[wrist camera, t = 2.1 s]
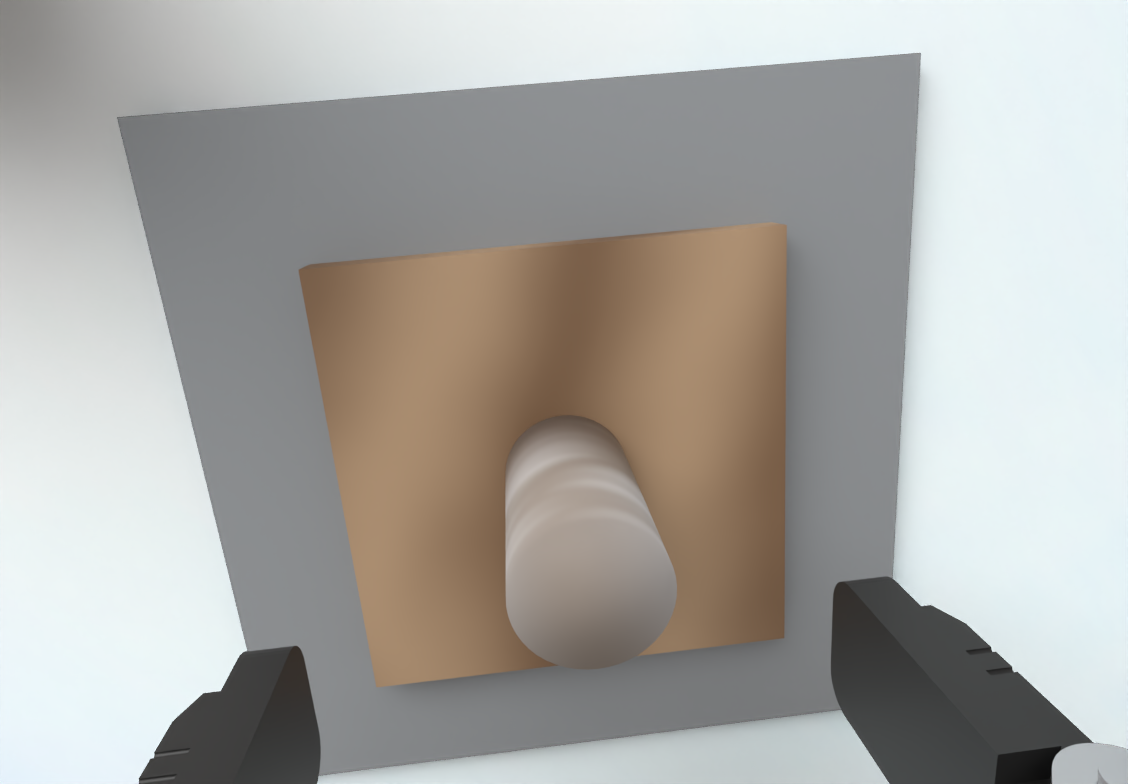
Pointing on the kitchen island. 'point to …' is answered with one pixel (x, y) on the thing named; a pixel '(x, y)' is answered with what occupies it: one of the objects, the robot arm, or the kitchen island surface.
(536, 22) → the kitchen island surface
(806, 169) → the mat
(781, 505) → the lid
